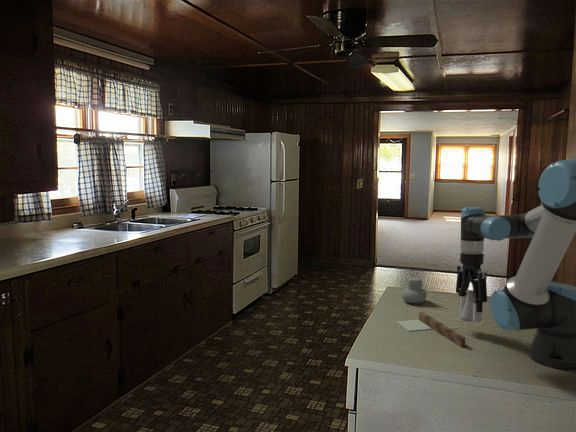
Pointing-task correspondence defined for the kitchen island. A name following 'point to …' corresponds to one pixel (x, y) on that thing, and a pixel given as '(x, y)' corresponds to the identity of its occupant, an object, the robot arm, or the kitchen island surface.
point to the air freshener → (414, 291)
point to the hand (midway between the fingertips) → (470, 317)
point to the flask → (468, 307)
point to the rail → (442, 329)
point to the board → (413, 325)
